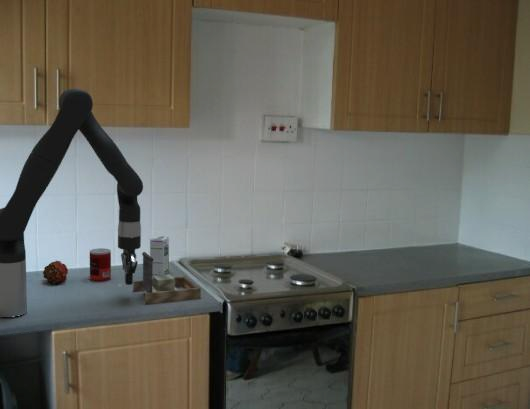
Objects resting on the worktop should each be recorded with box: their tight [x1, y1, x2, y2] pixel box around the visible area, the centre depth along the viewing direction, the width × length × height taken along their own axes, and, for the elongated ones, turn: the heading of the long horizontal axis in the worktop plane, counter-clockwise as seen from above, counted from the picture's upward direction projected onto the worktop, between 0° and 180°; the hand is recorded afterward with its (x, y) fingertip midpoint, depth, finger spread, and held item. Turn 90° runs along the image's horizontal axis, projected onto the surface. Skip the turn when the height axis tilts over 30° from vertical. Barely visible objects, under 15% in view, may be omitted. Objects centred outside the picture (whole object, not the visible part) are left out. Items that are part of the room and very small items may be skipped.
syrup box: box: [149, 235, 170, 276], centre depth 251 cm, size 6×6×14 cm
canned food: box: [89, 247, 112, 283], centre depth 241 cm, size 8×8×11 cm
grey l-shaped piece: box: [141, 251, 179, 293], centre depth 221 cm, size 11×9×15 cm
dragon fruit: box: [42, 260, 69, 284], centre depth 236 cm, size 8×8×12 cm
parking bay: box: [132, 276, 202, 305], centre depth 223 cm, size 19×16×4 cm
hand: (128, 284), depth 217 cm, fingers closed
